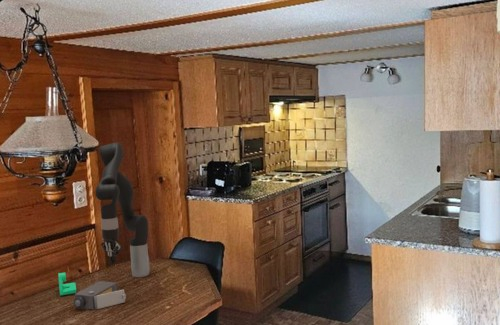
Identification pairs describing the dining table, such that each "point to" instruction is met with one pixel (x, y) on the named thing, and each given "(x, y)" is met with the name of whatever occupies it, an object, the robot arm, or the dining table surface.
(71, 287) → the camera mount
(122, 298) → the side door
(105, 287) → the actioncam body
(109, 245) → the robot arm
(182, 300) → the dining table surface
